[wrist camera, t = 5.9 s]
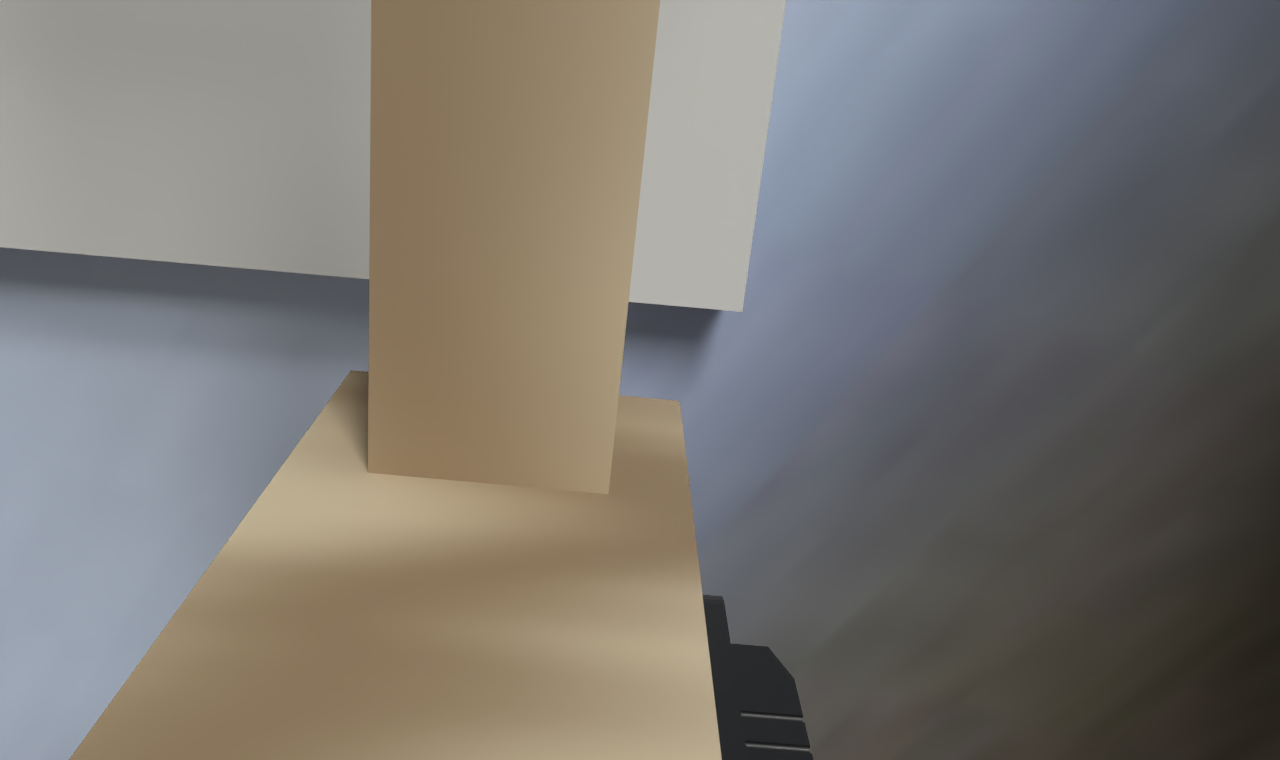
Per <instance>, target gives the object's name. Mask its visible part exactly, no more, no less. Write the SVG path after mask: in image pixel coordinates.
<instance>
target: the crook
mask: <svg viewBox="0 0 1280 760" xmlns="http://www.w3.org/2000/svg"><path fill="white" fill-rule="evenodd" d="M659 6H660V0H371V113H370V250H369V372H364V371H353V370H351V371H350V373H349V374H348V375H347V377H346V378H345V379H344V381H343V382H342V384H341V385H340V386H339V388H338V389H337V390H336V392H335V393H334V395H333V396H332V397H331V399H330V400H329V402H328V403H327V404H326V406H325V407H324V408H323V410H322V411H321V413H320V414H319V415H318V417H317V418H316V419H315V421H314V422H313V424H312V425H311V426H310V428H309V429H308V431H307V432H306V433H305V435H304V436H303V437H302V439H301V440H300V442H299V443H298V444H297V446H296V447H295V448H294V450H293V451H292V453H291V454H290V455H289V457H288V458H287V460H286V461H285V462H284V464H283V465H282V466H281V468H280V469H279V471H278V472H277V473H276V475H275V476H274V477H273V479H272V480H271V482H270V483H269V484H268V486H267V487H266V489H265V490H264V491H263V493H262V494H261V495H260V497H259V498H258V500H257V501H256V502H255V504H254V505H253V506H252V508H251V509H250V511H249V512H248V513H247V515H246V516H245V518H244V519H243V520H242V522H241V523H240V524H239V526H238V527H237V529H236V530H235V531H234V533H233V534H232V535H231V537H230V538H229V540H228V541H227V542H226V544H225V545H224V547H223V548H222V549H221V551H220V552H219V553H218V555H217V556H216V558H215V559H214V560H213V562H212V563H211V564H210V566H209V567H208V569H207V570H206V571H205V573H204V574H203V576H202V577H201V578H200V580H199V581H198V582H197V584H196V585H195V587H194V588H193V589H192V591H191V592H190V593H189V595H188V596H187V598H186V599H185V600H184V602H183V603H182V605H181V606H180V607H179V609H178V610H177V611H176V613H175V614H174V616H173V617H172V618H171V620H170V621H169V622H168V624H167V625H166V627H165V628H164V629H163V631H162V632H161V634H160V635H159V636H158V638H157V639H156V640H155V642H154V643H153V645H152V646H151V647H150V649H149V650H148V651H147V653H146V654H145V656H144V657H143V658H142V660H141V661H140V663H139V664H138V665H137V667H136V668H135V669H134V671H133V672H132V674H131V675H130V676H129V678H128V679H127V680H126V682H125V683H124V685H123V686H122V687H121V689H120V690H119V691H118V693H117V694H116V696H115V697H114V698H113V700H112V701H111V703H110V704H109V705H108V707H107V708H106V709H105V711H104V712H103V714H102V715H101V716H100V718H99V719H98V720H97V722H96V723H95V725H94V726H93V727H92V729H91V730H90V732H89V733H88V734H87V736H86V737H85V738H84V740H83V741H82V743H81V744H80V745H79V747H78V748H77V749H76V751H75V752H74V754H73V755H72V756H71V758H70V759H69V760H722V757H721V749H720V740H719V732H718V723H717V715H716V706H715V698H714V689H713V681H712V672H711V664H710V655H709V647H708V638H707V630H706V621H705V613H704V604H703V596H702V587H701V579H700V570H699V561H698V553H697V544H696V536H695V527H694V519H693V510H692V502H691V493H690V485H689V476H688V468H687V459H686V451H685V442H684V434H683V425H682V417H681V408H680V401H674V400H663V399H653V398H642V397H631V396H621V395H619V389H620V379H621V370H622V360H623V351H624V341H625V331H626V322H627V312H628V303H629V293H630V284H631V274H632V264H633V255H634V245H635V236H636V226H637V217H638V207H639V198H640V188H641V178H642V169H643V159H644V150H645V140H646V131H647V121H648V112H649V102H650V92H651V83H652V73H653V64H654V54H655V45H656V35H657V25H658V16H659Z"/></svg>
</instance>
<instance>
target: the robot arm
mask: <svg viewBox="0 0 1280 760" xmlns="http://www.w3.org/2000/svg"><path fill="white" fill-rule="evenodd" d="M702 596H703V604H704V613H705V621H706V630H707V638H708V647H709V655H710V664H711V672H712V681H713V689H714V698H715V706H716V715H717V723H718V732H719V740H720V749H721V757H722V760H813V757H812V754H811V753H810V744H809V740H808V735H807V731H806V727H805V723H803V721H802V718H803V714H802V710H801V705H800V701H799V697H798V693H797V688H796V684H795V680H794V678H793V677H792V676H791V674H790V673H789V672H788V671H787V670H786V668H785V667H784V666H783V665H782V663H781V662H780V661H779V660H778V658H777V657H776V656H775V655H774V654H773V652H772V651H771V650H770V649H769V647H765V646H753V645H741V644H730V637H729V631H728V624H727V617H726V611H725V604H724V600H723V597H722V596H711V595H702Z"/></svg>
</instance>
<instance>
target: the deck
mask: <svg viewBox="0 0 1280 760" xmlns="http://www.w3.org/2000/svg"><path fill="white" fill-rule="evenodd" d="M785 5H786V0H660V6H659V16H658V25H657V35H656V45H655V54H654V64H653V73H652V83H651V92H650V102H649V112H648V121H647V131H646V140H645V150H644V159H643V169H642V178H641V188H640V198H639V207H638V217H637V226H636V236H635V245H634V255H633V264H632V274H631V284H630V293H629V302H636V303H647V304H659V305H670V306H682V307H693V308H705V309H716V310H728V311H739V312H742V310H743V303H744V295H745V288H746V281H747V274H748V267H749V260H750V253H751V246H752V239H753V232H754V225H755V218H756V210H757V203H758V196H759V189H760V182H761V175H762V168H763V161H764V154H765V147H766V140H767V133H768V126H769V118H770V111H771V104H772V97H773V90H774V83H775V76H776V69H777V62H778V55H779V48H780V41H781V34H782V26H783V19H784V12H785ZM370 113H371V0H0V247H3V248H15V249H26V250H38V251H49V252H61V253H72V254H84V255H95V256H107V257H118V258H130V259H141V260H153V261H164V262H176V263H187V264H199V265H210V266H222V267H233V268H245V269H256V270H268V271H279V272H291V273H302V274H314V275H325V276H337V277H348V278H360V279H369V250H370Z"/></svg>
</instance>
